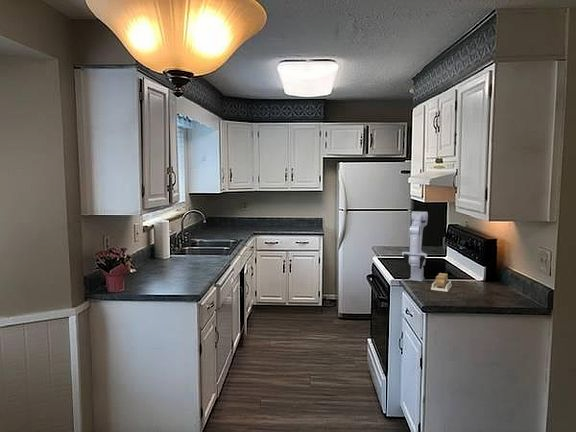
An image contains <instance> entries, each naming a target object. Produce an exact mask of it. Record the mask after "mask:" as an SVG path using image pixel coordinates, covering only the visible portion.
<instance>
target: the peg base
mask: <svg viewBox="0 0 576 432" xmlns="http://www.w3.org/2000/svg"><path fill="white" fill-rule="evenodd" d="M452 287H453V284H452V280H449V281H447V283H446V284H445V286H444V287H443V286H436V280H435V281H433V282H432V283H431V287H430V290H431V291H437V292H438V291H439V292H440V291H441V292H446V293H447V292H449V290H450V289H451V288H452Z"/></svg>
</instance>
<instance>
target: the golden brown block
mask: <svg viewBox="0 0 576 432" xmlns="http://www.w3.org/2000/svg"><path fill="white" fill-rule="evenodd" d="M437 274H438V275H436V276H435V281H436V286H443V287H444V286H445V284H446V283H447V284H448V278H449V276H448V275H449V274H448V273H446V272H445V273H444V272H443V273H442V272H439V273H437Z"/></svg>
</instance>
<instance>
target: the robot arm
mask: <svg viewBox="0 0 576 432" xmlns="http://www.w3.org/2000/svg"><path fill="white" fill-rule="evenodd" d="M410 218H411V225H410V226H408V227H409V229H408V234H409V251H402V252H401V255H402V256H403V259H404V263H405V266H406V268H409V266H410V277H409V278H408V281H416V282H422V281H423V280H425V277H424V266H426V259H427V258H428V253H426V252H424V251H423V250H422V246H423V233H424V228H425V227H426V226H427V225H428V220H429V212H428V211H414V210H413V211H411V217H410Z"/></svg>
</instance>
